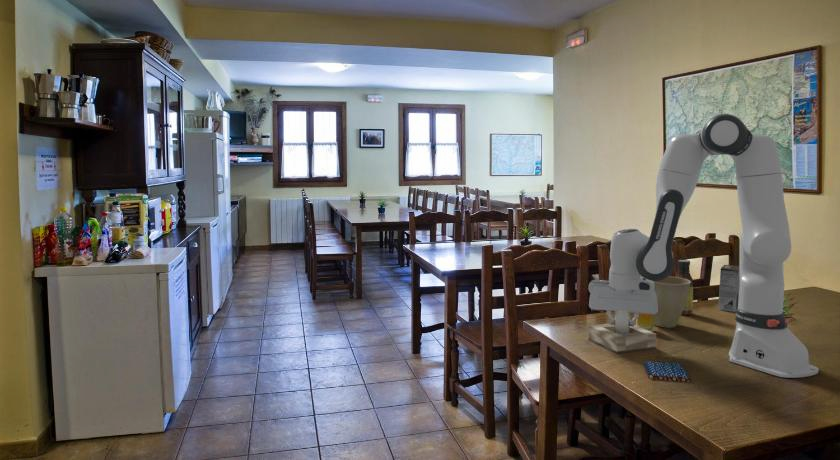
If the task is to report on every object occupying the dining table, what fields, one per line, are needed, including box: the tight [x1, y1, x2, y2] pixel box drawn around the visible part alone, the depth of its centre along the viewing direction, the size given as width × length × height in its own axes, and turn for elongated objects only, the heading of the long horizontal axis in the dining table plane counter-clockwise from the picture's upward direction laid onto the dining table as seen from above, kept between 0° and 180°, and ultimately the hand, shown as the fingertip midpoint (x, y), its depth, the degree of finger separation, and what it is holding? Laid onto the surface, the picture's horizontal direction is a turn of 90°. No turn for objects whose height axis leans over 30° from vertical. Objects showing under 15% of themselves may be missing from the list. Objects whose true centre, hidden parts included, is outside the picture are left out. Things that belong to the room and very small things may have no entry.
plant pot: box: [653, 275, 691, 328], centre depth 204 cm, size 15×15×16 cm
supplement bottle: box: [635, 313, 654, 332], centre depth 198 cm, size 5×5×10 cm
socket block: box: [588, 323, 657, 354], centre depth 183 cm, size 14×14×5 cm
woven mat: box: [642, 361, 691, 383], centre depth 159 cm, size 10×11×2 cm
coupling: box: [614, 309, 631, 335], centre depth 184 cm, size 7×4×9 cm, turn 161°
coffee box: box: [717, 264, 740, 313], centre depth 226 cm, size 9×6×16 cm
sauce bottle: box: [675, 259, 694, 316], centre depth 219 cm, size 6×6×20 cm
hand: (621, 325), depth 184 cm, fingers closed on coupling, 4 cm apart
